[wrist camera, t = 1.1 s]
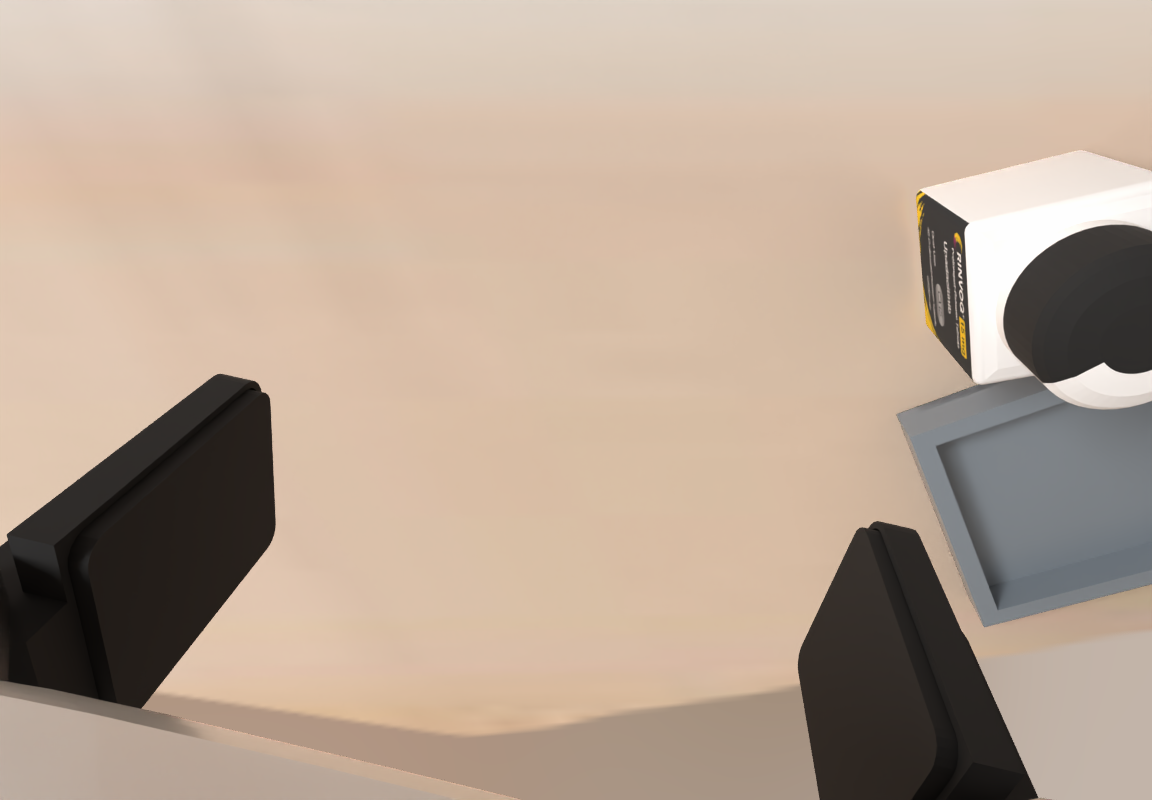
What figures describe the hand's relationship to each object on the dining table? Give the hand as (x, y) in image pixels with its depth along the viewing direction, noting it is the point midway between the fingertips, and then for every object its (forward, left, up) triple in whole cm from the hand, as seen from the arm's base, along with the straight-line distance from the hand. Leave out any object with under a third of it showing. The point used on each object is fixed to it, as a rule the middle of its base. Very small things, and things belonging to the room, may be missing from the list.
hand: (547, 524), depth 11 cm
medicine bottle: (-14, +10, -27) cm, 32 cm away
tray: (-14, +24, -27) cm, 39 cm away
